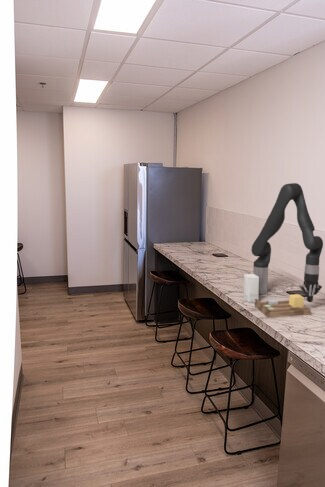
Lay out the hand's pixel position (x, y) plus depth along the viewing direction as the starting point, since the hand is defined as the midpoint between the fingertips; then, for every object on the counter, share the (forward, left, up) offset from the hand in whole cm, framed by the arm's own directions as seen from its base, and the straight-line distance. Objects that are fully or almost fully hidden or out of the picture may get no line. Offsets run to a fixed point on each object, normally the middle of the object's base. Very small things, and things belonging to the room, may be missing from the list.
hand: (309, 301), depth 212 cm
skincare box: (-19, -27, -5) cm, 33 cm away
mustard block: (0, -8, -2) cm, 8 cm away
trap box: (0, -16, -4) cm, 17 cm away
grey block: (-6, -19, -4) cm, 20 cm away
